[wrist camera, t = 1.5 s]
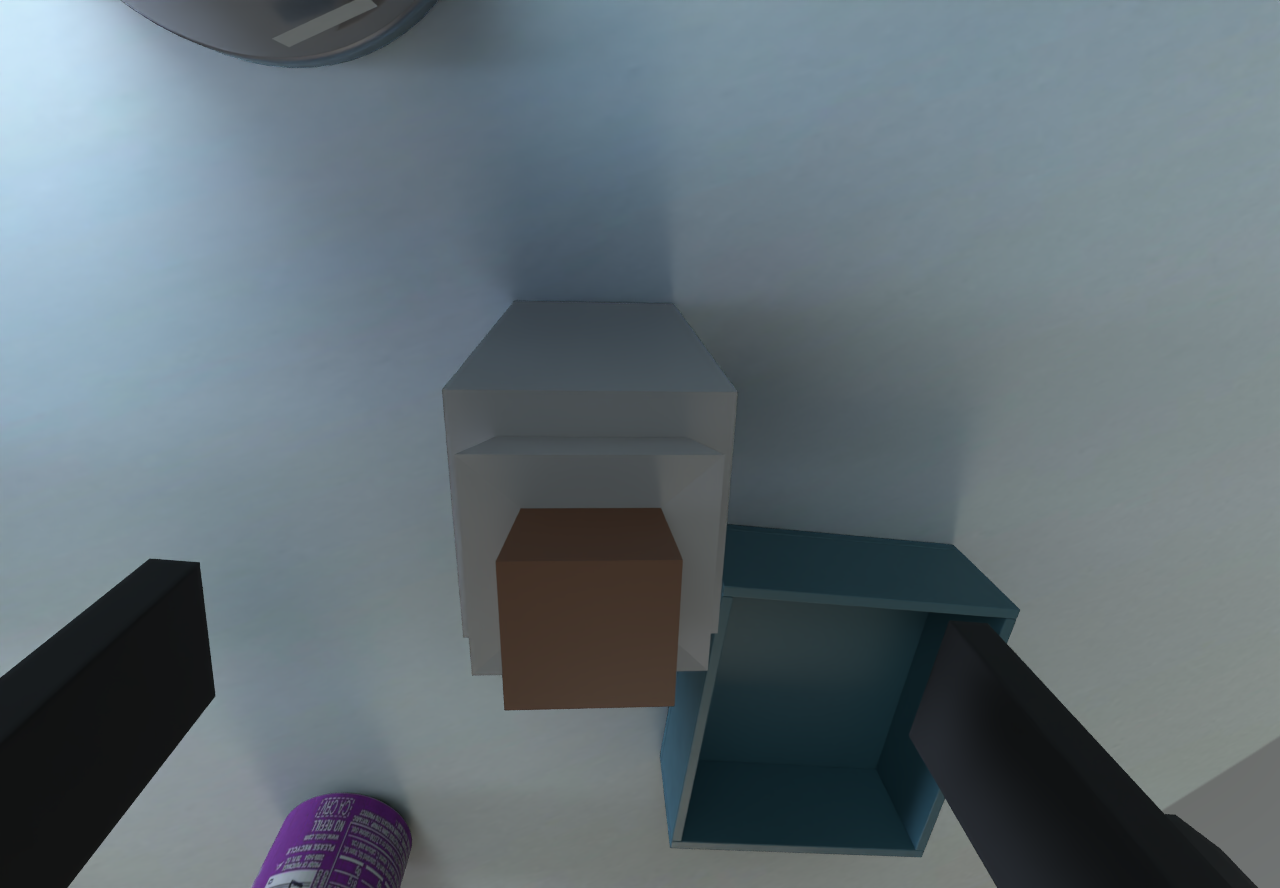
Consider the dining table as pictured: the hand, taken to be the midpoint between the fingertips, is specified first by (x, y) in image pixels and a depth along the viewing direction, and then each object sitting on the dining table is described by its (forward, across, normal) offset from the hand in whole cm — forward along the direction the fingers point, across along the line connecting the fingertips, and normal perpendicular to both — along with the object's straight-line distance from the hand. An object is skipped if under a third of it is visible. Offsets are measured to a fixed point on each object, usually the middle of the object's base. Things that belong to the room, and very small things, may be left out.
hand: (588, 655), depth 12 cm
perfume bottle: (+18, 0, 0) cm, 19 cm away
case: (+18, +12, -14) cm, 26 cm away
